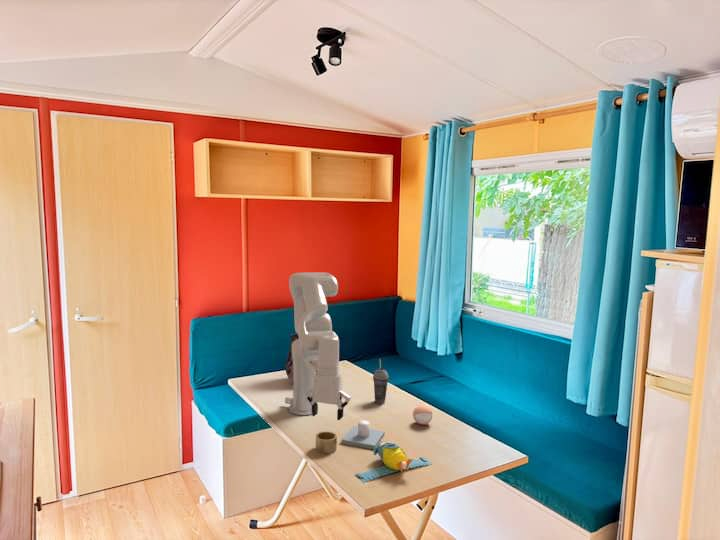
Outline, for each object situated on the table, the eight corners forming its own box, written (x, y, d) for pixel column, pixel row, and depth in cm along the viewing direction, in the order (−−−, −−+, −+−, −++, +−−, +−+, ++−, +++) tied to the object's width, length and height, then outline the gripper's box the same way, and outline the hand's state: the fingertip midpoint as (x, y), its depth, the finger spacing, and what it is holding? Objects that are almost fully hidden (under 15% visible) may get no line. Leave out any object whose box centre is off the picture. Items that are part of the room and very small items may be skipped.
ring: (312, 451, 179) (312, 438, 179) (320, 443, 186) (320, 430, 185) (331, 455, 177) (331, 442, 176) (339, 446, 184) (339, 433, 183)
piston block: (341, 443, 186) (341, 426, 186) (353, 429, 199) (353, 413, 198) (374, 449, 182) (375, 432, 182) (384, 435, 194) (385, 419, 194)
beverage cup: (376, 406, 224) (378, 362, 222) (369, 400, 230) (370, 358, 228) (390, 403, 227) (392, 361, 225) (382, 398, 234) (384, 356, 231)
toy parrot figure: (368, 463, 156) (346, 444, 169) (368, 489, 156) (345, 468, 170) (440, 445, 169) (414, 429, 182) (439, 470, 170) (413, 452, 183)
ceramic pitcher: (283, 377, 258) (284, 330, 256) (324, 375, 263) (325, 329, 261) (287, 389, 241) (288, 338, 239) (330, 387, 247) (331, 337, 244)
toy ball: (415, 428, 202) (416, 409, 201) (410, 420, 210) (411, 402, 209) (434, 427, 203) (435, 408, 202) (428, 419, 211) (429, 401, 210)
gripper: (301, 370, 177) (300, 417, 179) (347, 376, 172) (346, 424, 173) (310, 365, 184) (309, 410, 186) (354, 370, 179) (353, 416, 180)
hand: (327, 416), depth 179 cm, fingers open, 9 cm apart
